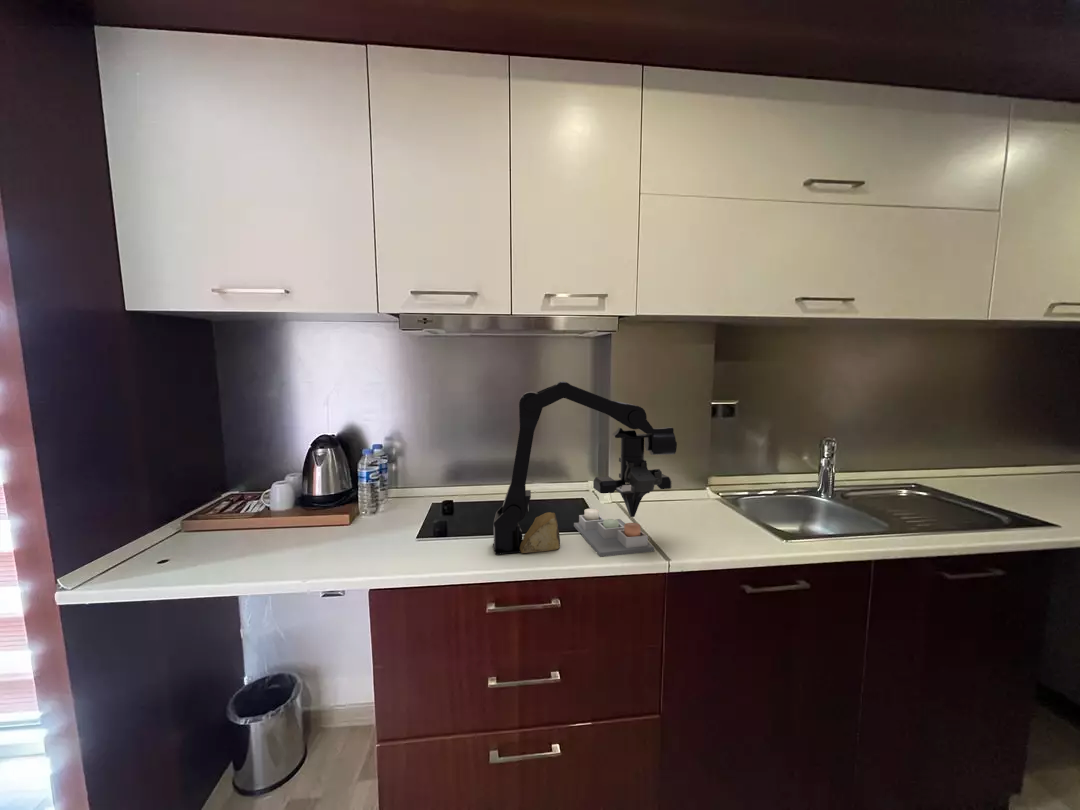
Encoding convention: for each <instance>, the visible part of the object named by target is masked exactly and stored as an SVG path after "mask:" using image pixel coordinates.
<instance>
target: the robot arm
mask: <svg viewBox="0 0 1080 810" xmlns="http://www.w3.org/2000/svg"><path fill="white" fill-rule="evenodd" d="M519 399H520V400H519V403H518V405H519V406H518V407H519V416H518V417H519V431H518V437H517V444H516V451H515V457H514V462H513V463H514V464H513V470H512V474H511V475H512V476H511V481H510V484H509V486H508V489H507V491H506V495H505V497H504V499H503V500H504V501H503V504H502V506H500V507H499V509H498V510H497V511H496V512H495V516H494V519H493V524H492V525H493V543H492V547H493V551H494V554H495V555H496V556H497V555H498V556H499V555H509V554H518V553H521V551H520V549H519V548H520V544H521V542H522V540H523V530H522V529H521V526H520V524H519V522H521V521H522V520H524V518H525V516H526V514H528V513H529V506H530V505H529V503H530V501H531V498H532V497H531V496H532V492H531V491H532V490H531V489H529V490H528V489H526V483H527V476H528V472H529V465H530V458H531V452H532V446H533V439H534V434H535V433H534V432H535V430H536V427H537V425H538V423H539V419H540V416H541V414H542V411H543V408H545V407H547V406H550V405H551V404H555V403H556V402H557V401H560V400H562V399H566V400H569V401H571V402H574V403H577V404H579V405H582V406H584V407H586V408H589V409H593V410H594V411H597V412H600V413H602V414H605V415H607V416H608V417H610V418H612V419H614V420H615V421H617V422H618V423H621V424H622V425H624V427H625V426H626V428H628V430H627V429H625V430H623V428H622V427H621V426H619V427H618V428H617V429H616V431H614V432H613V433H612V436H613V437H614V438H615V439H620V456H619V457H618V462H619V463H620V473H618V478H619V479H614V478H612V477H611V476H598V477H597V476H596V477H595V478H594V479H593V481H592V483H593V484H592V486H593V489H594V490H595V491H597V492H598V493H600V494H612V493H613V494H614V493H615V491H616V492H617V493H619V494H620V496H621V498H622V500H623V502H624V505H625V507H626V509H627V513H628V515H629V516H630V517H631V518H635V516H636V513H637V512H638V509H639V506H640V503H641V501H642V500H643V497H644V496H645V495H647V494H650V493H651V492H653V491H655V490H654V489H655V486H657V487H658V488H659V489H660V490H669V489H672V484H673V483H672V480H671V478H670V477H669V476H668V475H666V474H664V473H662V471H661V469H660V468H656V469H654V468H653V469H648V463H647V460H645V451H647V452H649V454H650V455H651V456H655V455H656V456H658V455H660V456H661V455H662V456H663V455H665V456H667V455H669V456H670V455H675V454H676V453H677V445H678V444H677V443H678V442H677V440H676V435H675V432H674V430H675V429H674V428H673V427H671V426H665V427H653V426H652V425H651V424H650V422H649V421H648V419H647V418H648V417H647V413H646V411H645V409H644V408H643V407H641V406H639V405H635V404H632V403H628V402H623V401H619V400H618V401H617V400H612V399H608V398H606V397H603V396H601V395H598V394H596V393H593V392H590V391H588V390H585V389H583V388H581V387H580V388H579V387H577V386H575V385H572V384H571V383H569V382H568V381H564V380H562V381H558V382H557V383H555V384H553V385H551V386H548V387H546V388H543V389H541V390H539V391H537V392H535V391H527V392H525V393H524V394H522V395H521V396H520V398H519ZM630 429H631V430H630ZM636 430H639V431H641V432H643V433H637V431H636Z"/></svg>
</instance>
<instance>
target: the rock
mask: <svg viewBox="0 0 1080 810" xmlns="http://www.w3.org/2000/svg"><path fill="white" fill-rule="evenodd" d="M557 519H558V518H557V516H556V513H555V512H551V511H550V512H549V511H548V512H545V513H543V514H540V515H538V516H536V517H535V518H534V521H533V523H532V524H531V525H530V527H529V528H528V530H527V532H525V533H524V535H523V536H522V542H521V544H520V548H519V549H520V551H521V552H520V553H521V554H527V553H536V552H549V551H556V550H559V549H560V547H561V538H560V530H559V525H558V520H557Z"/></svg>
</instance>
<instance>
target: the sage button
mask: <svg viewBox="0 0 1080 810" xmlns="http://www.w3.org/2000/svg"><path fill="white" fill-rule="evenodd" d="M615 519H616V518H615ZM615 519H614V518H606V519H605V518H604V521H603V526H604V527H605V528H606V529H607V528H618V527H619V521H618V520H615Z"/></svg>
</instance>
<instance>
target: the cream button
mask: <svg viewBox="0 0 1080 810" xmlns="http://www.w3.org/2000/svg"><path fill="white" fill-rule="evenodd" d="M583 515H584V516H585V520H586V521H591V520H599V515H600V511H599V508H592V507H591V508H586V509H584V514H583Z"/></svg>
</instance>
